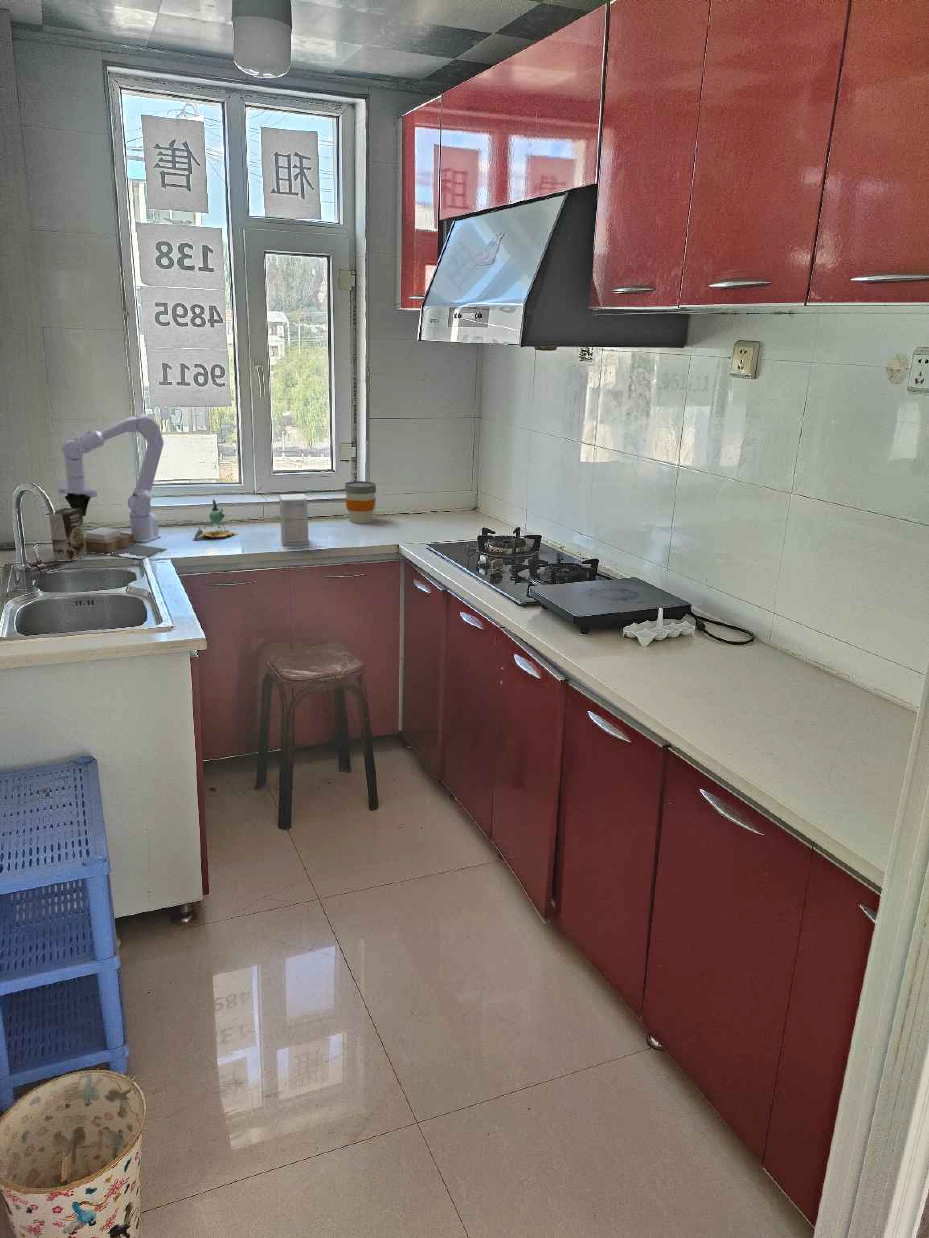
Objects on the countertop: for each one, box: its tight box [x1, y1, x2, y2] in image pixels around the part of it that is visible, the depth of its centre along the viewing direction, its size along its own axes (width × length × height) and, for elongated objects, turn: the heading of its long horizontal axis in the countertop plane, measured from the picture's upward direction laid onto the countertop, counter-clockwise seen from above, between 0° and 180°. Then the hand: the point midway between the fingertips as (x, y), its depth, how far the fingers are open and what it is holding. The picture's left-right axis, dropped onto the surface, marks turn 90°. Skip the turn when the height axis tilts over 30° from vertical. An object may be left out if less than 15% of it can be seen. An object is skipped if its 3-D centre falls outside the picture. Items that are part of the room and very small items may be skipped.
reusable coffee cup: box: [344, 480, 377, 524], centre depth 355 cm, size 13×13×15 cm
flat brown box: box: [85, 532, 136, 554], centre depth 306 cm, size 14×12×4 cm
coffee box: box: [48, 507, 88, 561], centre depth 291 cm, size 9×6×16 cm
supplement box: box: [278, 493, 310, 547], centre depth 320 cm, size 10×9×17 cm
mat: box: [109, 544, 168, 557], centre depth 303 cm, size 14×13×1 cm
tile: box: [84, 527, 122, 541], centre depth 305 cm, size 8×8×2 cm
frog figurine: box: [192, 499, 239, 541], centre depth 325 cm, size 10×18×15 cm, turn 123°
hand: (80, 515), depth 306 cm, fingers closed
